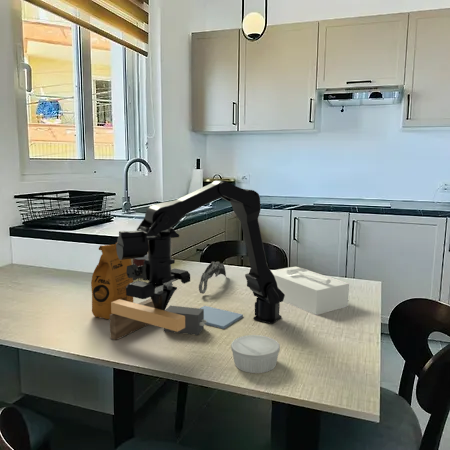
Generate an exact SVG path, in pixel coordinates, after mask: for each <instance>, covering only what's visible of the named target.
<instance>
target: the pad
mask: <svg viewBox="0 0 450 450" xmlns="http://www.w3.org/2000/svg"><path fill="white" fill-rule="evenodd" d="M198 308H199V309H204V320H207V323H204V325H205V324H206V326H209V325H210V326H209V327H213V326H214V327H215V328H217V327H219V328H218V329H222V330H225V329H226V328H228V327H229V326H231V325H232V324H234V323H236V322H237V321H239V320H240V319H242V318H243V317H244V315H243V313H238V312H235V311H229V310H226V309H220V308H217V307H213V306H212V307H211V306H208V305H203V306H201V307H198Z"/></svg>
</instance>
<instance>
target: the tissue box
mask: <svg viewBox="0 0 450 450" xmlns="http://www.w3.org/2000/svg"><path fill="white" fill-rule="evenodd" d="M271 272H272V273H273V275H274V277H275V280H276V282H277V287H278V288H279V289H280V290H281V291H282V292H283V293H284V294H285V296H284V299H283V303H285V304H287V305H288V304H289V305H291V306H292V307H295V308H297V309H300V310H302V311H305V312H307V313H309V314H312V315H315V316H317V315H321V314H325V313H328V312H331V311H336V310H340V309H343V308H347V307H348V306H349V294H350V293H349V292H350V283H349V282H345V281H343V280H340V279H336V278H333V277H330V276H327V275H324V274H321V273H318V272H315V271H312V270H309V269H306V268H303V267H299V266H289V267H284V268H278V269H272V270H271Z"/></svg>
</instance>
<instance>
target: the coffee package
mask: <svg viewBox="0 0 450 450" xmlns="http://www.w3.org/2000/svg"><path fill="white" fill-rule="evenodd" d="M98 250H99V251H101V253H102V254H101V255H100V257H99V259H98V263H97V265H96V266H95V268H94V271H93V273H92V276H91V282H90V285H91V286H90V287H91V313H92V314H93V316H94V317H95V318H101V319H106V320H109V321H110V315H111V314H113V313H111V302H113V301H116V300H119V299H121V300H125V301H129V302H133V303H134V297H131V296H127V295H126V286H127V285H128V284H130V283H133V282H134V281H133V279H132V278H128V276H127V273H126V271H127V266H130V265H133V261H132V259H124V260H120V259H119V258H118V255H117V250H116V243H115V244H104V245H99V246H98Z"/></svg>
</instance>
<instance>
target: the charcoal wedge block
mask: <svg viewBox="0 0 450 450" xmlns="http://www.w3.org/2000/svg"><path fill="white" fill-rule="evenodd" d="M199 308H200V307H198V308H197V307H188V306H178V305H169V306H167V307H166V309H165V311H168V312H172V313H176V314H180V315H184V316H185V328H184V329H182V330H180V331H178V332H176V331H173V330H169V329H166V328H163V332H164V331H165V333H166V332H167V333H174V332H175V333H176V334H183V333H188V334H187V335H192V334H195V335H194V336H199V335H200V334H201V332H202V331H203V329H204V328H205V324H204V323H207V320H204V309H199ZM175 333H174V334H175Z"/></svg>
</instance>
